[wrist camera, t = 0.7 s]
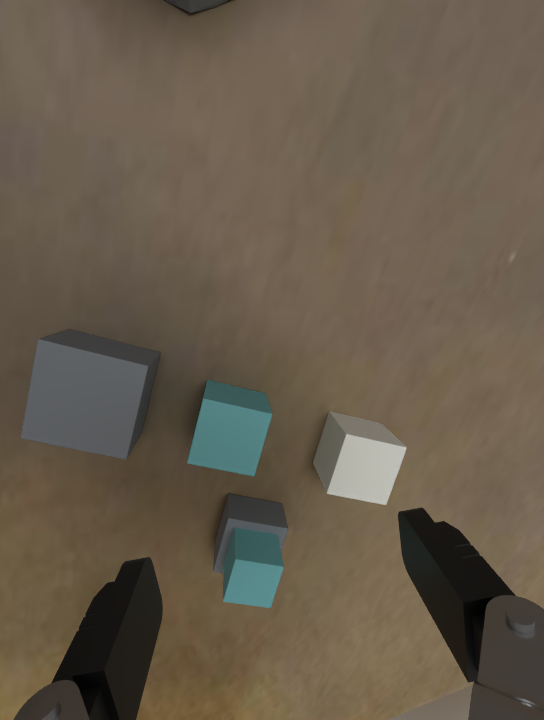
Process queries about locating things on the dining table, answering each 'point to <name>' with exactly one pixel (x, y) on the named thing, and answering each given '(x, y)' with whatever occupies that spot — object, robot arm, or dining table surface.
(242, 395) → the teal block
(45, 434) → the charcoal block
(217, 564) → the stack
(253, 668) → the dining table surface
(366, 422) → the cream block
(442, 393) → the dining table surface
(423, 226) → the dining table surface
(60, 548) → the dining table surface
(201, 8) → the coffeepot
